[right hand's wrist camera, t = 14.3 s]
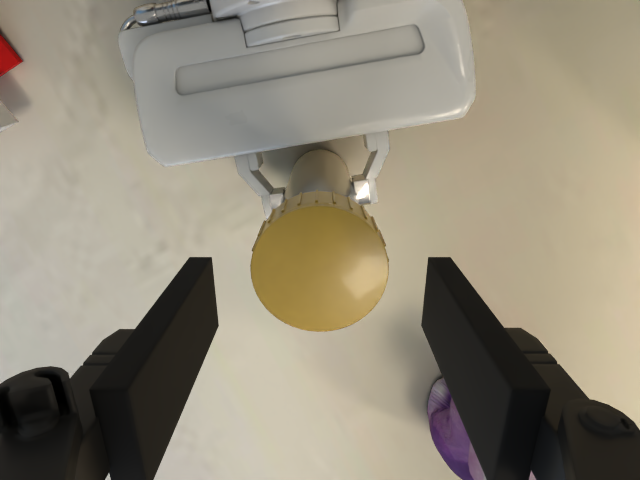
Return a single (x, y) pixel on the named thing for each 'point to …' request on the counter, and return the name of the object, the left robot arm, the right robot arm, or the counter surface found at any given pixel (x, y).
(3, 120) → the toy
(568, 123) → the counter surface
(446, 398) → the figurine
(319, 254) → the lid
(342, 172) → the bottle
